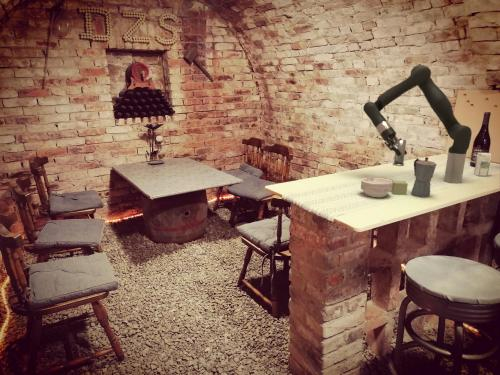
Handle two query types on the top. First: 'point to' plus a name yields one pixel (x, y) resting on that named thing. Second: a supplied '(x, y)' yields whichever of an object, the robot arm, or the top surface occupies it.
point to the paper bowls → (376, 186)
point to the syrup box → (482, 164)
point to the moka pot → (423, 177)
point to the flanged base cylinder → (400, 159)
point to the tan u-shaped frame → (399, 187)
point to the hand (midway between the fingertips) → (402, 154)
